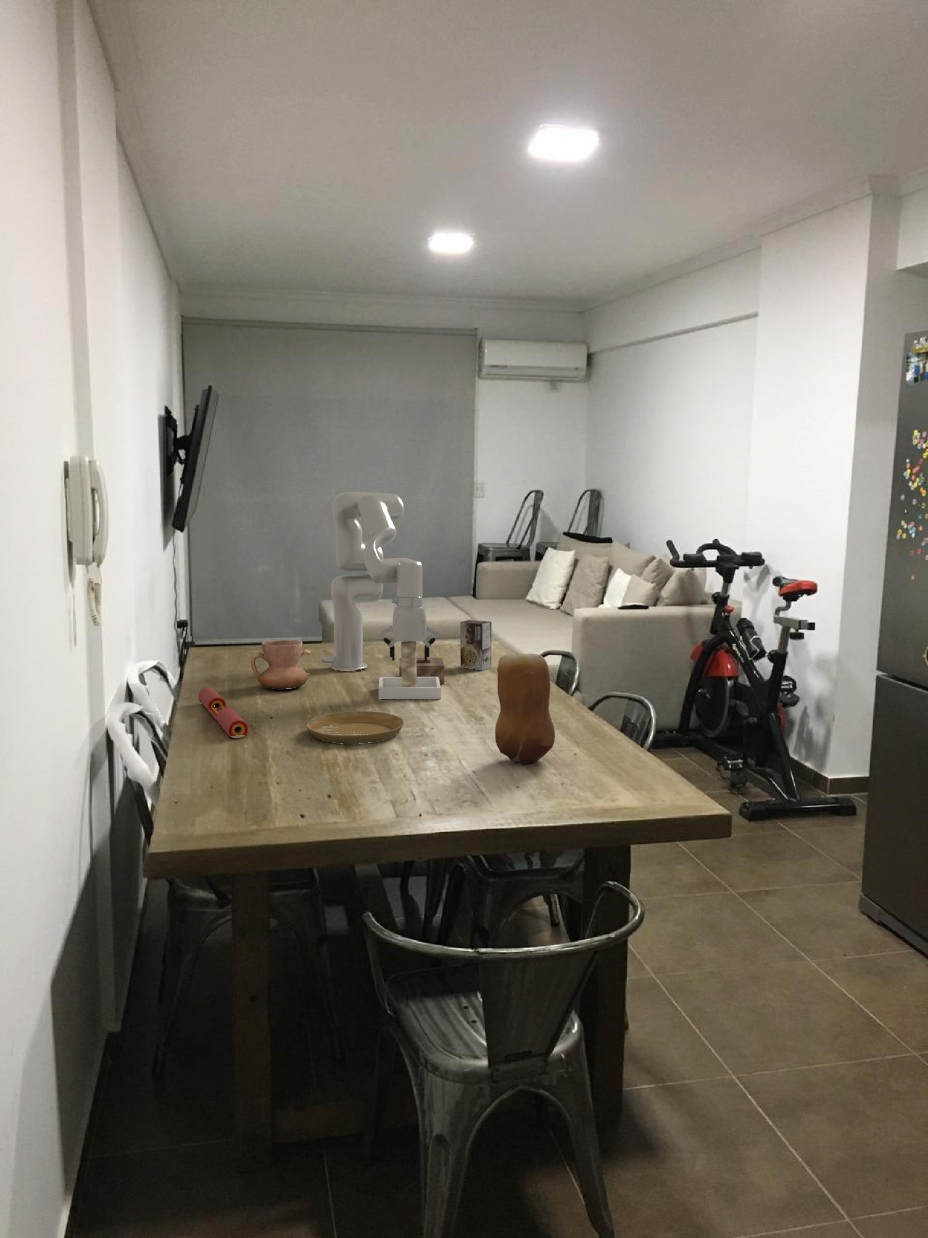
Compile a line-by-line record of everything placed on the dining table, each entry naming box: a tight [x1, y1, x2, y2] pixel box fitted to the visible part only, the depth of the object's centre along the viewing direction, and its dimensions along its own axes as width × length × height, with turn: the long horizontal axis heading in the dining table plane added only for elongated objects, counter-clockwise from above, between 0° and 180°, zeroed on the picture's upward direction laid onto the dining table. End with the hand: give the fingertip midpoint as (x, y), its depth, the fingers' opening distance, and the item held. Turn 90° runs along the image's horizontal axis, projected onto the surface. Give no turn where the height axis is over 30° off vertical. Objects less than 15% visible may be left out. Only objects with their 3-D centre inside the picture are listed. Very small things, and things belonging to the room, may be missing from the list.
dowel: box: [400, 642, 417, 687], centre depth 287 cm, size 4×4×15 cm
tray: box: [378, 676, 442, 701], centre depth 288 cm, size 18×16×4 cm
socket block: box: [398, 657, 445, 685], centre depth 308 cm, size 14×14×6 cm
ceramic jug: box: [250, 639, 311, 690], centre depth 295 cm, size 18×14×14 cm
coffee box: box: [459, 619, 492, 671], centre depth 328 cm, size 9×6×16 cm
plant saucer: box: [306, 710, 405, 745], centre depth 242 cm, size 24×24×3 cm
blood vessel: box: [198, 686, 249, 737], centre depth 255 cm, size 42×5×5 cm, turn 25°
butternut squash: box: [494, 652, 556, 765], centre depth 217 cm, size 14×13×25 cm
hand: (409, 659), depth 287 cm, fingers open, 9 cm apart
